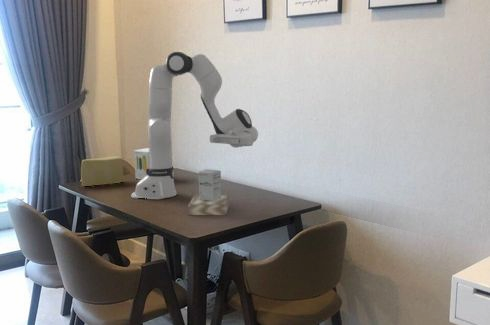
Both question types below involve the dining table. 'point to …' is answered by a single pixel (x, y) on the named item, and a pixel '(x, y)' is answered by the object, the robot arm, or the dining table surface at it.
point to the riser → (208, 206)
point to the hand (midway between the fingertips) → (221, 141)
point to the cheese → (101, 170)
